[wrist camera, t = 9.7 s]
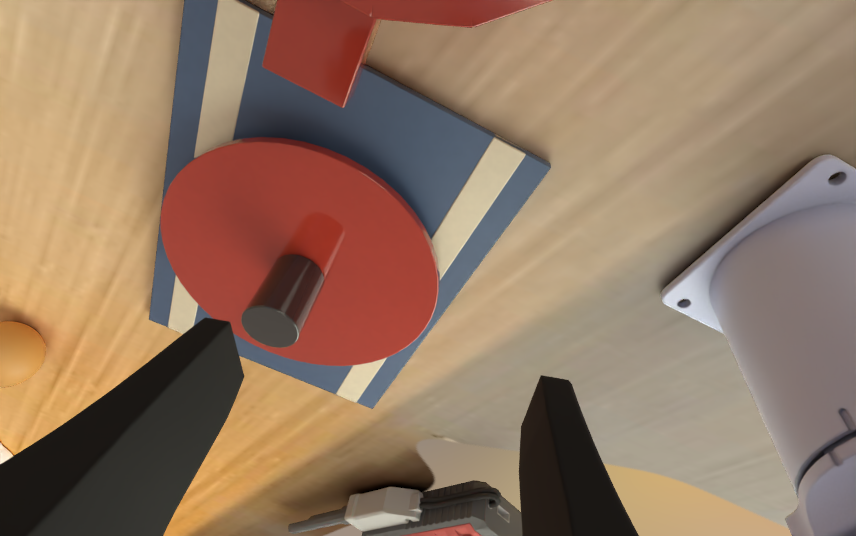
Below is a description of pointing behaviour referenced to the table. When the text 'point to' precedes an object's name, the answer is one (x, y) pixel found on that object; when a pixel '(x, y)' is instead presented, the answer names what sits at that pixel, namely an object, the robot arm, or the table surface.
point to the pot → (357, 35)
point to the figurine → (19, 353)
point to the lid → (300, 251)
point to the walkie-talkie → (424, 513)
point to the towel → (352, 137)
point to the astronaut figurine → (4, 454)
